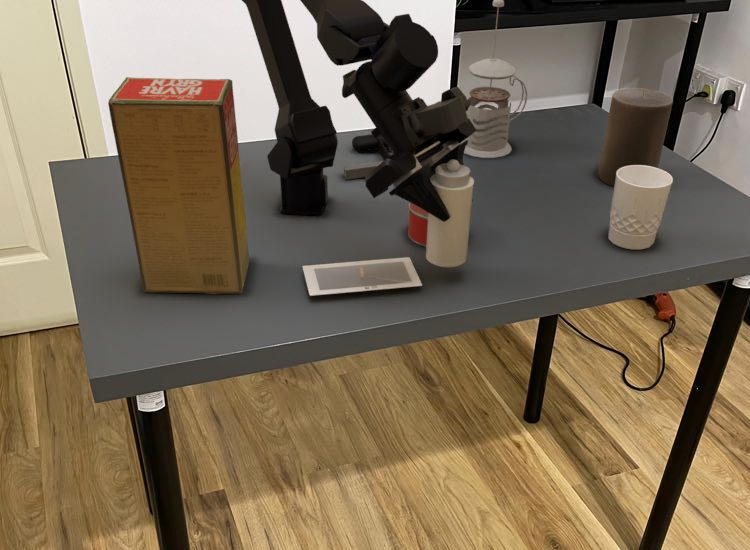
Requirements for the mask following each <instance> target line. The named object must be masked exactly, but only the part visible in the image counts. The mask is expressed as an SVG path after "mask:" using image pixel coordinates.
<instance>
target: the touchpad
mask: <svg viewBox="0 0 750 550" xmlns="http://www.w3.org/2000/svg"><path fill="white" fill-rule="evenodd" d="M301 267H302V271H303V275H304V279H305V282H306V283H305V284H306V287H307V290H308V294H309V297H312V296H323V295H333V294H334V295H335V294H336V295H337V294H346V293H358V292H367V291H379V290H380V291H381V290H390V289H400V288H401V289H402V288H412V287H422V286H423V282H422V281H421V279H420V277H419V275H418V273H417V270H416V269H415V266H414V264H413V261H412V260H411V258H410V257H409V256H407V257H396V258H383V259H382V258H381V259H369V260H359V261H357V260H356V261H345V262H344V261H343V262H333V263H323V264H322V263H320V264H311V265H310V264H309V265H302V266H301Z"/></svg>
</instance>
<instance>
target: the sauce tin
mask: <svg viewBox="0 0 750 550" xmlns="http://www.w3.org/2000/svg"><path fill="white" fill-rule="evenodd" d="M427 224H428V212H426V211H425V210H423V209H421V208H420V207H418V206H416V205H414V204H413V203H411V202H409V204H408V227H407V228H408V230H407V236H408V239H409V240H410V241H411V242H413V243H414V244H416V245H418V246H420V247H424V248H426V241H427Z"/></svg>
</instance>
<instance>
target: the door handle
mask: <svg viewBox="0 0 750 550" xmlns="http://www.w3.org/2000/svg"><path fill="white" fill-rule="evenodd" d="M351 146H352V149H354V151H356V152H365V151H366V152H367V151H373V150H374V151H375V150H377V151H378V152H379V154H380V156H381V158H382V160H381V161H373V162H366V163H359V164H352V165H351V164H350V165H344V166H343V174H344V178H345V179H346V180H353V179H355V180H356V179H361V178H366V175H368V174H369V173H370V172H371V171H372V170H374V169H375V168H376V167H377V166H378V165H380V164H381V163H382V162H383V161H384V160H385V159H387V158H388V157H390V156H392V155H393V154H390V153H392V151H391V149H390V148H389V146H388V145H387V143H386V142H385V140H384V139H383V137H382V136H380V137H378V138H376V139H375V138H374V136H373V135H372V133H370V134H364V135H356V136H355V137H353V138H352V140H351ZM387 148H388V149H387ZM413 155H415V154H413ZM429 163H430V167H431V166H432V165H433V164H434V163H433V161H432V160H431V158H429V159H427V160H425V161H424V162H422V163H420V164H421V166H422V167H424V166H425V165H427V164H429ZM433 175H434V174H433V173H432V172H431V171H430V178H431V177H432V176H433Z"/></svg>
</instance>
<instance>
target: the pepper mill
mask: <svg viewBox="0 0 750 550" xmlns="http://www.w3.org/2000/svg"><path fill="white" fill-rule="evenodd" d="M430 180H431V182H432V184H433V186H434V187H435V189H436V191H437V193H438V194H439V196H440V198H441V200H442V201H443V203H444V205H445V207H446V209H447V211H448V213H449V215H450V218H449V219H448V220H447V221H445V222H443V221H441V220H440V219H438V218H436V217H435V216H433V215H431V214H430V213H428V224H427V241H426V247H425V259H426V261H427V262H429V263H430V264H432V265H435V266H437V267H442V268H456V267H459V266H462V265H463V264H464V263H466V262H467V261H468V250H469V240H470V237H469V236H470V228H471V218H472V210H473V209H472V208H473V207H472V206H473V202H472V198H473V197H474V187H475V179H474V178H473V177H472V176H471V169H470V168H469V167H468V166H467V165H465V164H464V165H462V164H459V162H458V161H457V160H455V159H452V160H450V161H449V162H448V163H445V164H441V165H439V166H437V167H436V169H435V174H434V175H433V176H432V177H431V178H430ZM473 199H474V198H473Z"/></svg>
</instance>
